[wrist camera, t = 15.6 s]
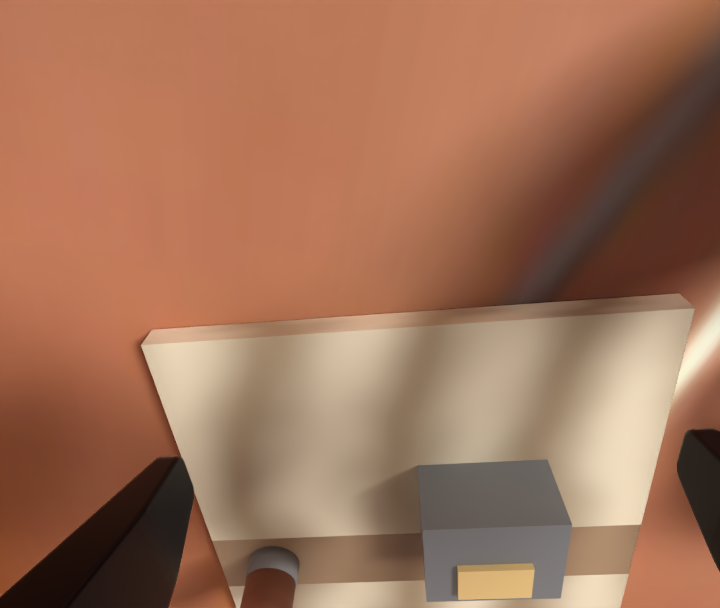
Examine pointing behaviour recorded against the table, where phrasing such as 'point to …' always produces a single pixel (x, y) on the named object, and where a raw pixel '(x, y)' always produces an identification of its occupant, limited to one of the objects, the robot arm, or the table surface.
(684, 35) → the table surface
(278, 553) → the brown cylinder
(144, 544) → the robot arm
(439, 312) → the board
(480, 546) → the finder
